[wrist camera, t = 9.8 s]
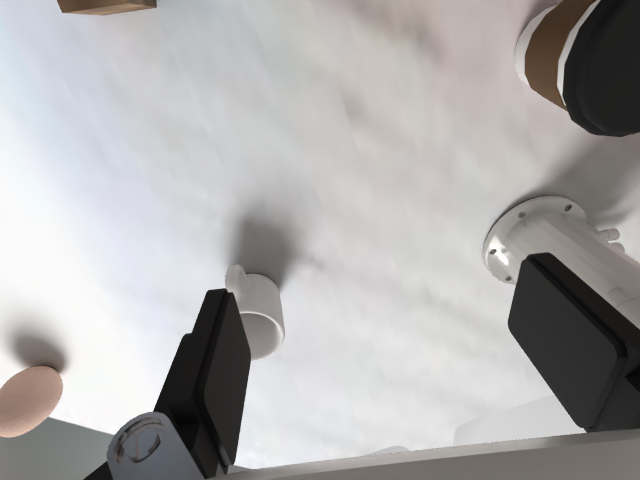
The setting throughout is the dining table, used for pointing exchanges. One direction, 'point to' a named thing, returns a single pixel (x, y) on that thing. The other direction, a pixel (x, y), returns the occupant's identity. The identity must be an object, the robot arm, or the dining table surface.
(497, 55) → the dining table surface
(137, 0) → the cardboard box
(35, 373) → the egg
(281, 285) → the dining table surface
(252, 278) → the cup
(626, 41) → the coffee cup
